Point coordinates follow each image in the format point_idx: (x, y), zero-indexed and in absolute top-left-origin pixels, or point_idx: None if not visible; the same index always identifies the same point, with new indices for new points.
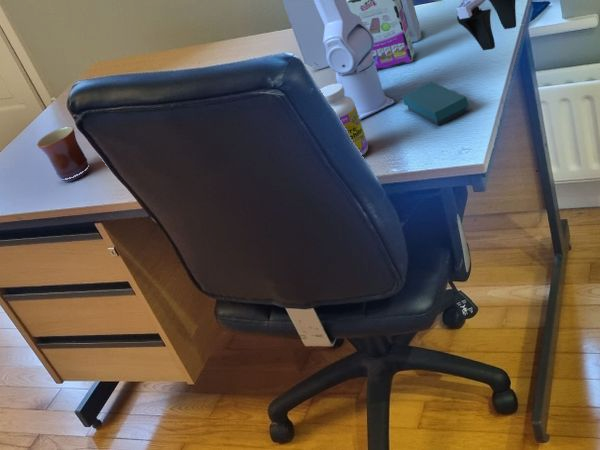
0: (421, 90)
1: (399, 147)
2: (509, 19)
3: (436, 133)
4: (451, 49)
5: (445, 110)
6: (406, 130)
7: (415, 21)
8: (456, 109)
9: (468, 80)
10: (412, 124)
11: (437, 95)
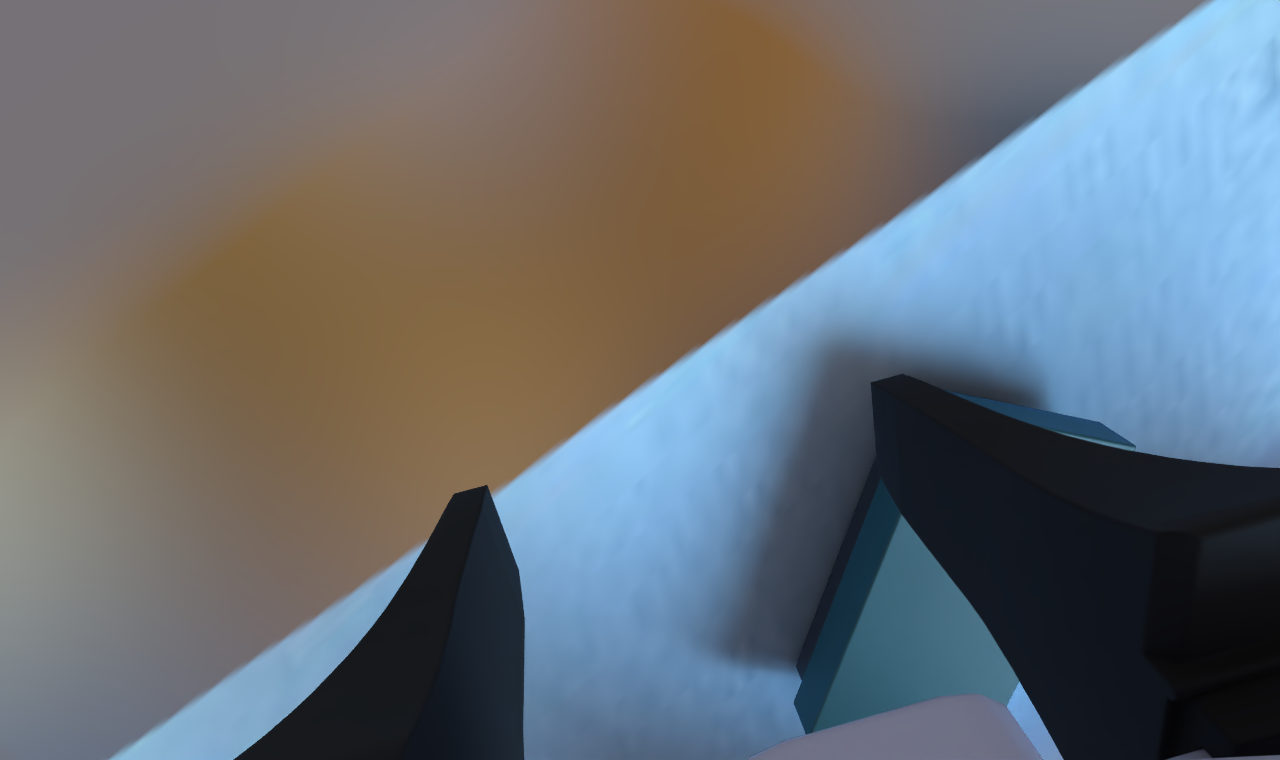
0: None
1: (1269, 452)
2: (492, 567)
3: (1129, 375)
4: None
5: (1069, 426)
6: None
7: None
8: (996, 403)
9: (597, 642)
10: None
11: (950, 587)
